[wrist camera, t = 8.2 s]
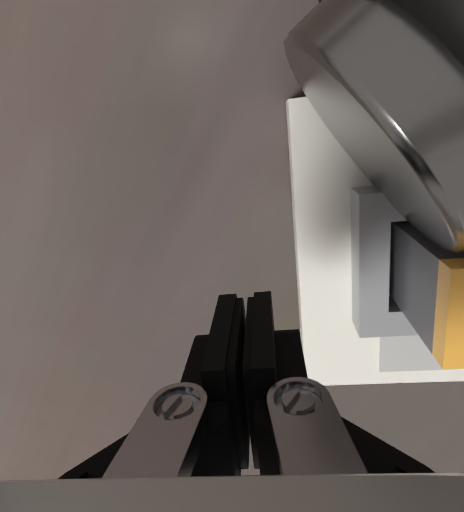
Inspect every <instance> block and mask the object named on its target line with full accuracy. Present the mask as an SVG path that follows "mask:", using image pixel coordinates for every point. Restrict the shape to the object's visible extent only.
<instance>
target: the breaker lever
mask: <svg viewBox="0 0 464 512" xmlns="http://www.w3.org/2000/svg"><path fill="white" fill-rule="evenodd" d="M389 294H390V295H391V297H392V298H393V300H394V301H395V303H396V304H397V305H398V307H399V308H400V310H401V311H402V312H403V314H404V315H405V317H406V318H407V320H408V321H409V322H410V324H411V325H412V327H413V328H414V329H415V331H416V332H417V334H418V335H419V337H420V338H421V339H422V341H423V342H424V344H425V345H426V347H427V348H428V349H429V351H430V352H431V354H432V355H433V356H434V358H435V359H436V361H437V362H438V364H439V365H440V366H441V368H442V369H464V251H461V252H457V253H453V252H449V251H446V250H445V249H443V248H441V247H439V246H438V245H436V244H434V243H433V242H431V241H430V240H429V239H428V238H426V237H425V236H424V235H422V234H421V233H420V232H419V231H418V230H417V229H416V228H415V227H413V226H412V225H411V224H410V223H409V222H408V221H397V222H391V239H390V275H389Z"/></svg>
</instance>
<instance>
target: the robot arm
mask: <svg viewBox="0 0 464 512" xmlns="http://www.w3.org/2000/svg"><path fill="white" fill-rule="evenodd" d="M250 438H251V446H252V454H253V462H254V468H255V469H260V475H246V476H241V469H248V467H249V443H250ZM0 512H464V473H435V472H434V471H432V470H431V469H430V468H428V467H427V466H425V465H424V464H422V463H420V462H418V461H417V460H415V459H413V458H411V457H410V456H408V455H406V454H405V453H403V452H401V451H399V450H398V449H396V448H394V447H392V446H391V445H389V444H387V443H386V442H384V441H382V440H380V439H379V438H377V437H375V436H373V435H372V434H370V433H368V432H367V431H365V430H363V429H361V428H360V427H358V426H356V425H354V424H353V423H351V422H349V421H348V420H346V419H344V418H342V417H341V416H340V414H339V412H338V410H337V408H336V406H335V404H334V402H333V400H332V398H331V395H330V393H329V392H328V390H327V389H326V388H325V386H323V385H322V384H320V383H319V382H318V381H315V380H312V379H310V378H308V377H307V371H306V366H305V360H304V355H303V349H302V344H301V338H300V333H299V329H295V330H278V331H274V320H273V309H272V298H271V291H267V292H254V297H248V301H247V314H246V317H245V309H244V301H243V298H237V295H236V294H226V295H219V297H218V301H217V305H216V309H215V313H214V317H213V321H212V325H211V329H210V333H209V335H197V336H195V338H194V341H193V344H192V347H191V351H190V354H189V357H188V360H187V363H186V366H185V370H184V373H183V376H182V379H181V382H180V383H175V384H171V385H168V386H166V387H164V388H162V389H160V390H159V391H158V392H156V393H155V394H154V395H153V396H152V397H151V399H150V400H149V401H148V403H147V405H146V406H145V408H144V410H143V411H142V413H141V414H140V416H139V418H138V419H137V421H136V423H135V424H134V426H133V428H132V429H131V431H130V432H129V433H128V434H127V435H125V436H124V437H122V438H120V439H119V440H117V441H116V442H114V443H112V444H111V445H109V446H108V447H106V448H104V449H103V450H101V451H100V452H98V453H97V454H95V455H93V456H92V457H90V458H89V459H87V460H85V461H84V462H82V463H81V464H79V465H77V466H76V467H74V468H73V469H71V470H70V471H68V472H66V473H65V474H63V475H62V476H61V477H60V478H58V479H50V480H8V481H0Z"/></svg>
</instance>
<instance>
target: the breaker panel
mask: <svg viewBox="0 0 464 512" xmlns="http://www.w3.org/2000/svg"><path fill="white" fill-rule="evenodd" d="M286 112H287V128H288V144H289V160H290V176H291V192H292V208H293V223H294V239H295V255H296V271H297V287H298V303H299V319H300V335H301V344H302V349H303V355H304V360H305V366H306V371H307V377H308V378H310V379H312V380H315V381H318V382H319V383H320V384H322V385H351V384H382V383H413V382H444V381H464V369H442V368H441V366H440V365H439V364H438V362H437V361H436V359H435V358H434V356H433V355H432V354H431V352H430V351H429V349H428V348H427V347H426V345H425V344H424V342H423V341H422V339H421V338H420V337H419V335H418V334H417V332H416V331H415V329H414V328H413V327H412V325H411V324H410V322H409V321H408V320H407V318H406V317H405V315H404V314H403V312H402V311H401V310H400V308H399V307H398V305H397V304H396V303H395V301H394V300H393V298H392V297H391V295H390V294H389V275H390V239H391V222H397V221H407V220H406V219H405V218H404V217H403V216H402V215H401V214H400V213H399V212H398V211H397V210H396V209H395V208H394V207H393V206H392V205H391V203H390V202H389V201H388V200H387V198H386V197H385V196H384V194H383V193H382V192H381V191H379V190H377V189H376V187H375V186H374V185H373V184H372V183H371V182H370V180H369V179H368V178H367V177H366V176H365V175H364V174H363V172H362V171H361V170H360V169H359V168H358V166H357V165H356V164H355V163H354V161H353V160H352V159H351V158H350V156H349V155H348V154H347V153H346V151H345V150H344V149H343V148H342V146H341V145H340V144H339V142H338V141H337V140H336V138H335V137H334V136H333V134H332V133H331V132H330V130H329V129H328V127H327V126H326V125H325V123H324V122H323V120H322V119H321V118H320V116H319V115H318V113H317V112H316V110H315V109H314V107H313V106H312V104H311V103H310V101H309V99H308V98H307V97H300V98H293V99H288V100H287V101H286Z"/></svg>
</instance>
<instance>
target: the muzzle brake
mask: <svg viewBox="0 0 464 512" xmlns="http://www.w3.org/2000/svg"><path fill="white" fill-rule="evenodd" d="M284 46H285V52H286V56H287V59H288V62H289V65H290V67H291V69H292V71H293V73H294V75H295V77H296V79H297V81H298V83H299V84H300V86H301V88H302V90H303V91H304V93H305V95H306V96H307V98H308V99H309V101H310V103H311V104H312V106H313V107H314V109H315V110H316V112H317V113H318V115H319V116H320V118H321V119H322V120H323V122H324V123H325V125H326V126H327V127H328V129H329V130H330V132H331V133H332V134H333V136H334V137H335V138H336V140H337V141H338V142H339V144H340V145H341V146H342V148H343V149H344V150H345V151H346V153H347V154H348V155H349V156H350V158H351V159H352V160H353V161H354V163H355V164H356V165H357V166H358V168H359V169H360V170H361V171H362V172H363V174H364V175H365V176H366V177H367V178H368V179H369V180H370V182H371V183H372V184H373V185H374V186H375V187H376V189H377V190H379V191H381V192H382V193H383V194H384V196H385V197H386V198H387V200H388V201H389V202H390V203H391V205H392V206H393V207H394V208H395V209H396V210H397V211H398V212H399V213H400V214H401V215H402V216H403V217H404V218H405V219H406V220H407V221H408V222H409V223H410V224H411V225H412V226H413V227H415V228H416V229H417V230H418V231H419V232H420V233H421V234H422V235H424V236H425V237H426V238H428V239H429V240H430V241H431V242H433V243H434V244H436V245H438V246H439V247H441V248H443V249H445V250H446V251H449V252H453V253H457V252H461V251H464V0H319V4H318V5H317V6H316V7H315V8H314V9H313V10H312V11H311V12H310V13H309V14H308V15H307V16H306V17H305V18H304V19H303V20H302V21H300V22H299V23H298V24H297V25H296V26H295V27H294V28H293V29H292V30H291V31H290V33H289V34H288V36H287V37H286V40H285V42H284Z"/></svg>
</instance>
